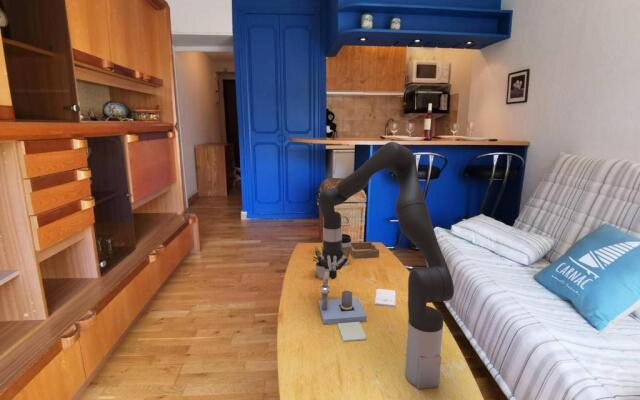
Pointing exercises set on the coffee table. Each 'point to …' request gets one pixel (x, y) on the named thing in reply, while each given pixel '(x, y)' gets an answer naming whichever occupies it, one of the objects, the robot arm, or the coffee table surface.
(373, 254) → the coaster tray
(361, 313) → the plate
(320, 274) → the house plant
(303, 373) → the coffee table surface
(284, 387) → the coffee table surface
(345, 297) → the plug
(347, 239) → the coffee cup
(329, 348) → the coffee table surface
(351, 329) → the pad
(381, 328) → the coffee table surface
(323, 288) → the clip
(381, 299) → the external hard drive
